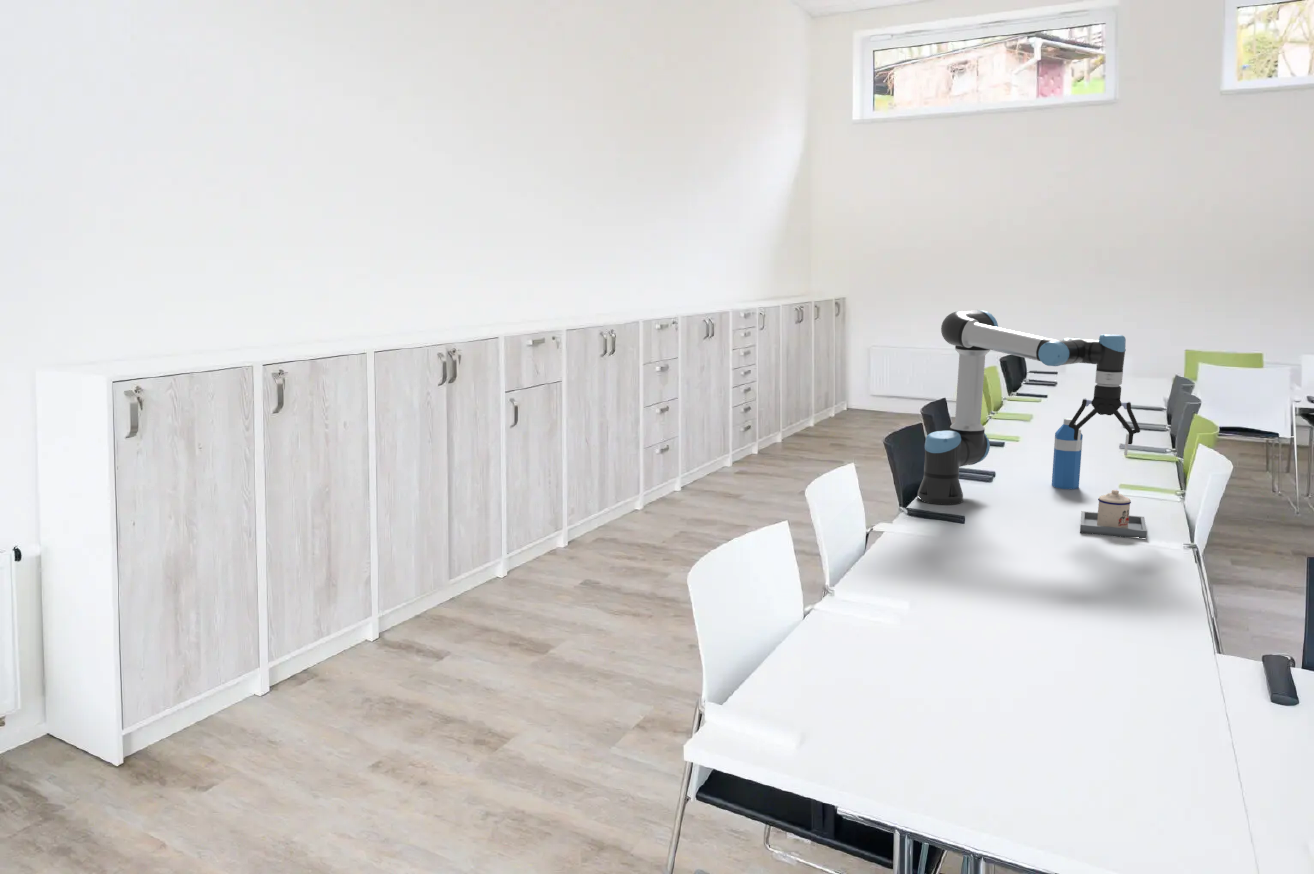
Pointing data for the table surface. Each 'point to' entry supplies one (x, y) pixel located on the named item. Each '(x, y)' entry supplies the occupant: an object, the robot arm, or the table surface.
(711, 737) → the table surface
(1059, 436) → the water bottle
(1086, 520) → the tray
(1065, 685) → the table surface
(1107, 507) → the teacup with lid
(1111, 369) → the robot arm
